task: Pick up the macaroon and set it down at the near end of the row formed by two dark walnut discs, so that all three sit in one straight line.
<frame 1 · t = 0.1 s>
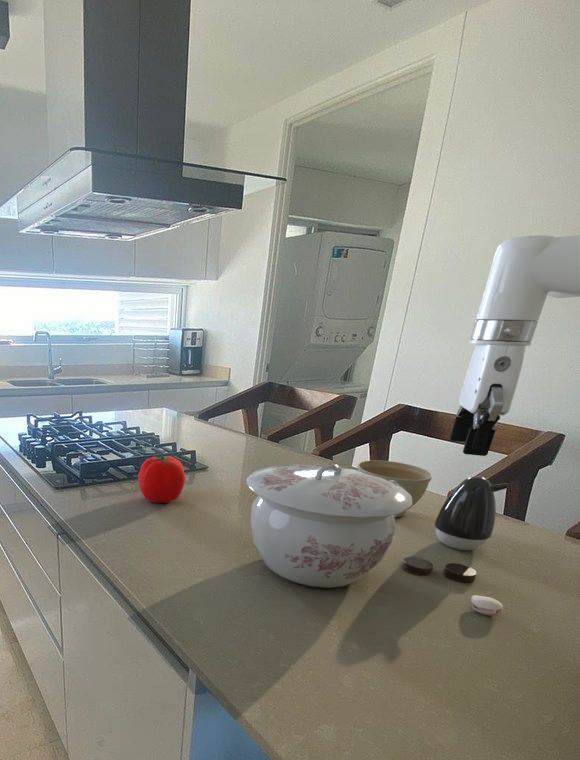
hand: (466, 447, 79), 25 cm above the worktop, tool pointing down, fingers open, 9 cm apart
planter bowl: (383, 511, 122), on the worktop
middle disc: (458, 576, 91), on the worktop
macaroon: (481, 611, 81), on the worktop
far disc: (416, 569, 93), on the worktop
tomato: (161, 499, 127), on the worktop
chamber pot: (311, 570, 93), on the worktop
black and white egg: (457, 545, 104), on the worktop
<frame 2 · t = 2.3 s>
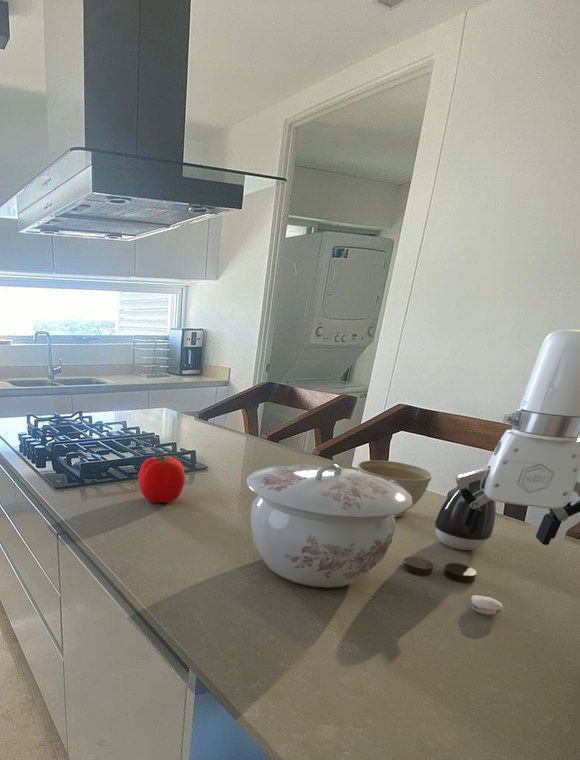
hand: (504, 535, 75), 13 cm above the worktop, tool pointing down, fingers open, 9 cm apart
nothing on the worktop moved.
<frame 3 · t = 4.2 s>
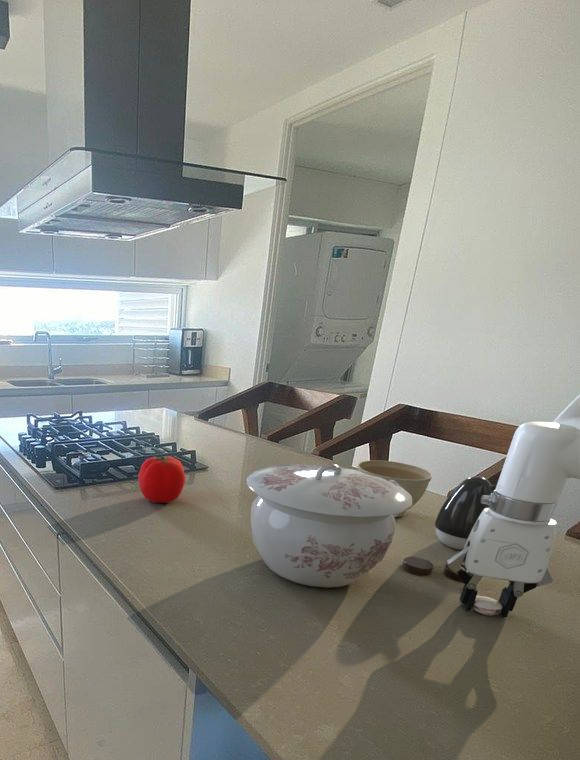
hand: (483, 608, 80), 0 cm above the worktop, tool pointing down, fingers closed on macaroon, 4 cm apart
macaroon: (481, 611, 81), on the worktop, touching gripper
everything else where it was.
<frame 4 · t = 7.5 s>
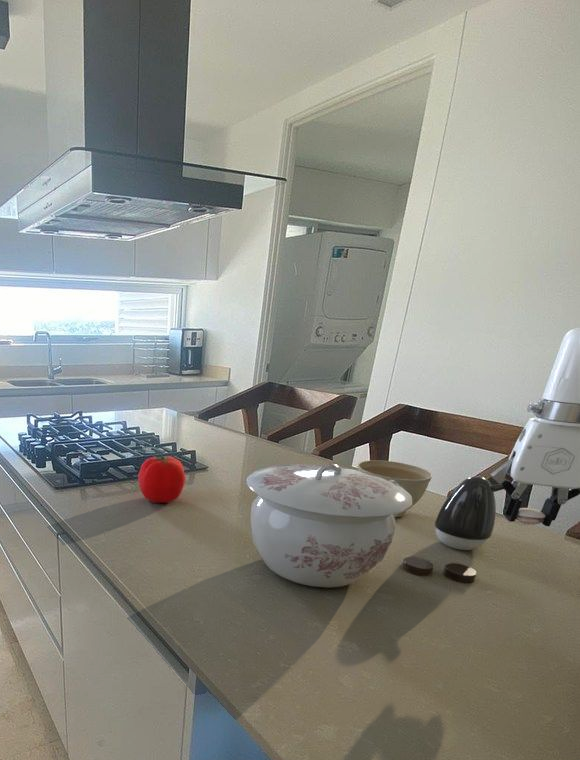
hand: (526, 520, 83), 13 cm above the worktop, tool pointing down, fingers closed on macaroon, 4 cm apart
macaroon: (523, 522, 84), point 12 cm above the worktop, touching gripper
everything else where it was.
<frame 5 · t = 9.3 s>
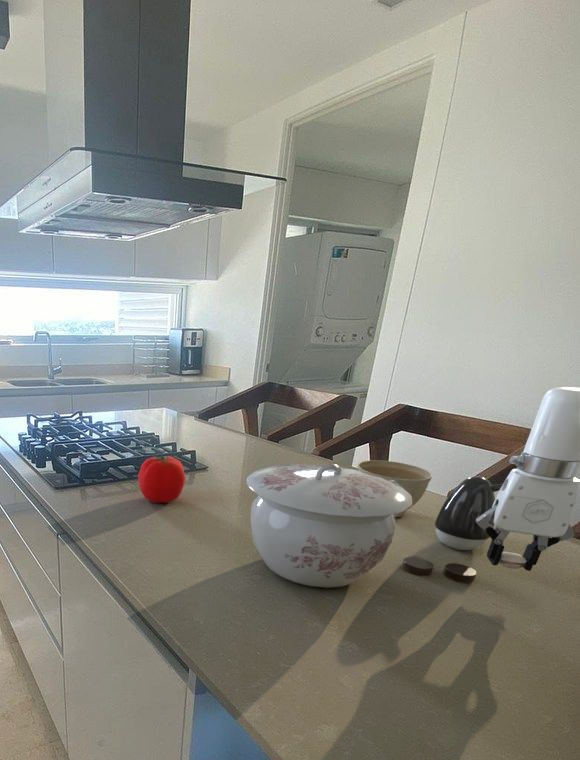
hand: (509, 563, 87), 4 cm above the worktop, tool pointing down, fingers closed on macaroon, 4 cm apart
macaroon: (506, 565, 88), point 4 cm above the worktop, touching gripper
everything else where it was.
when the fingers open (0 cm above the worktop, at t = 10.6 s): macaroon stays where it is, on the worktop.
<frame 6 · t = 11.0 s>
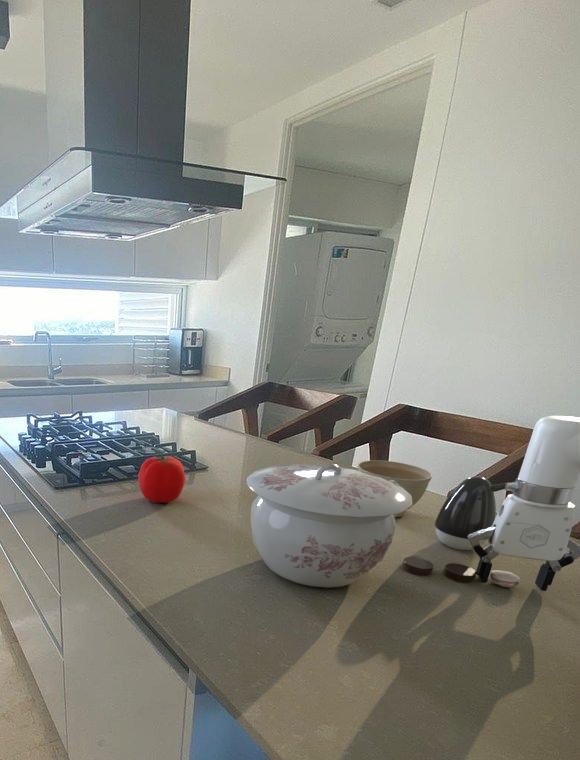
hand: (510, 582, 88), 0 cm above the worktop, tool pointing down, fingers open, 8 cm apart
macaroon: (500, 584, 89), on the worktop
everything else where it was.
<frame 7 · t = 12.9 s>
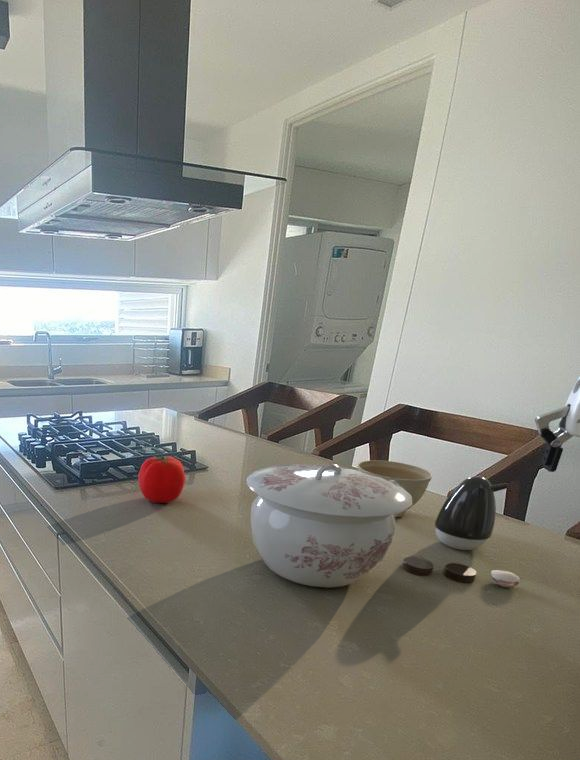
nothing on the worktop moved.
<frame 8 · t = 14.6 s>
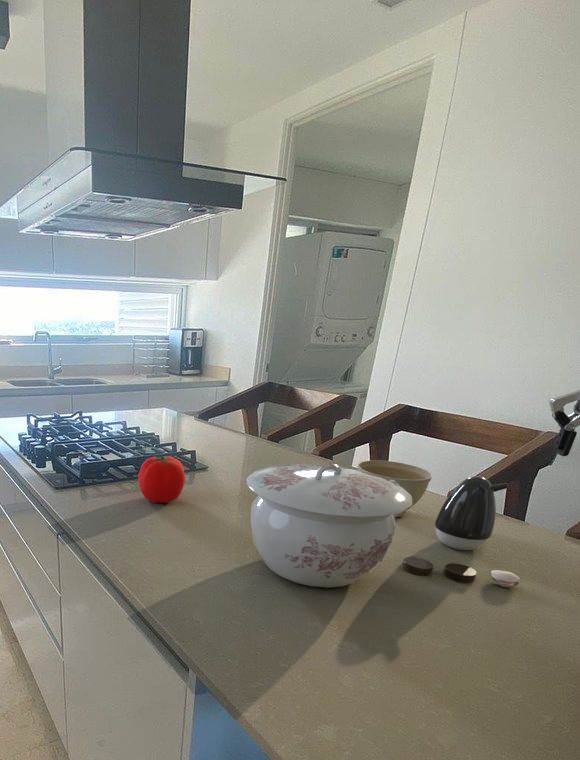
nothing on the worktop moved.
at the end: macaroon 0.3 cm from the target spot, on the worktop; macaroon moved 13.3 cm from its start; the gripper is holding nothing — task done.
